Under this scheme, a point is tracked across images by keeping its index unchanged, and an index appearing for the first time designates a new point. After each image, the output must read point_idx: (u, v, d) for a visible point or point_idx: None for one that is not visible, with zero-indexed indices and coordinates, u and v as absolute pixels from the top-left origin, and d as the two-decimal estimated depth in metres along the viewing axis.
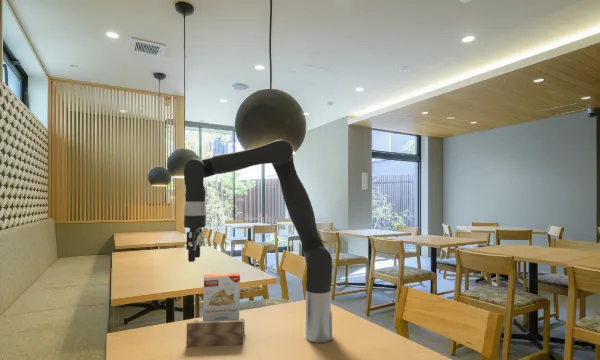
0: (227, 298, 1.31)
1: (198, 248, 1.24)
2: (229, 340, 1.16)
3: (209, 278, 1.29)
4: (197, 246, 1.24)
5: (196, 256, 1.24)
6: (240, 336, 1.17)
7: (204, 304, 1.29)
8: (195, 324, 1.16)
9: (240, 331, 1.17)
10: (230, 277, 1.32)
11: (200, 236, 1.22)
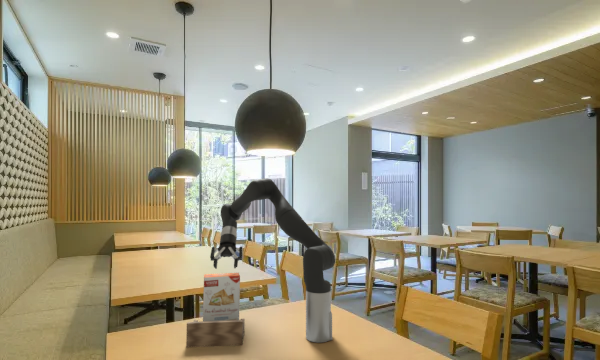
0: (227, 298, 1.31)
1: None
2: (229, 340, 1.16)
3: (209, 278, 1.29)
4: None
5: (234, 266, 1.47)
6: (240, 336, 1.17)
7: (204, 304, 1.29)
8: (195, 324, 1.16)
9: (240, 331, 1.17)
10: (230, 277, 1.32)
11: (229, 249, 1.52)
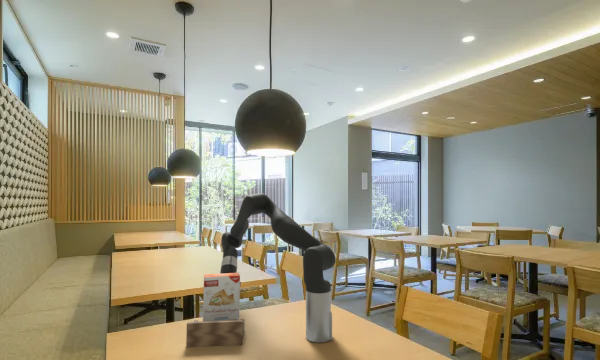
0: (227, 298, 1.31)
1: None
2: (229, 340, 1.16)
3: (209, 278, 1.29)
4: None
5: None
6: (240, 336, 1.17)
7: (204, 304, 1.29)
8: (195, 324, 1.16)
9: (240, 331, 1.17)
10: (230, 277, 1.32)
11: None
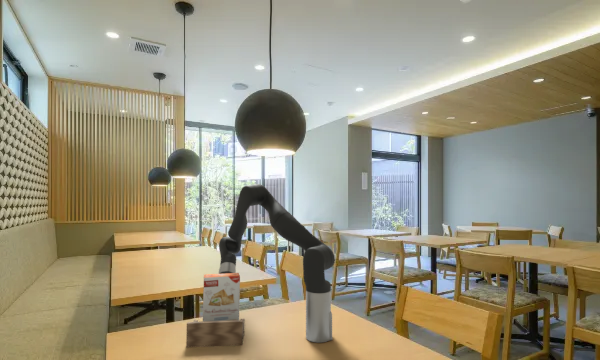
0: (227, 298, 1.30)
1: None
2: (229, 340, 1.16)
3: (209, 278, 1.29)
4: None
5: None
6: (240, 336, 1.17)
7: (204, 304, 1.28)
8: (195, 324, 1.16)
9: (240, 331, 1.17)
10: (230, 277, 1.31)
11: None
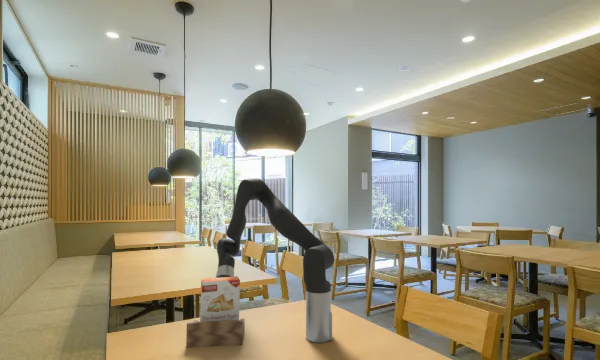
0: (227, 303, 1.24)
1: None
2: (229, 340, 1.16)
3: (207, 283, 1.22)
4: None
5: None
6: (240, 336, 1.17)
7: (202, 310, 1.21)
8: (195, 324, 1.16)
9: (240, 331, 1.17)
10: (229, 281, 1.25)
11: None
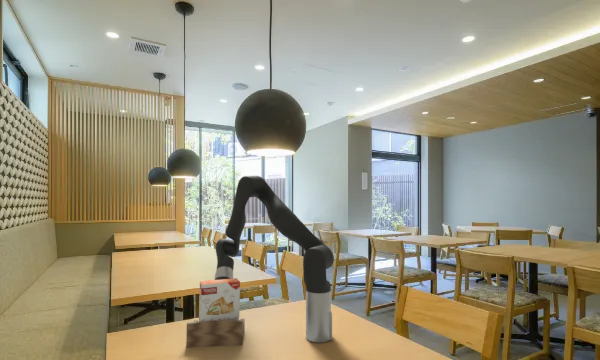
0: (227, 306, 1.21)
1: None
2: (229, 340, 1.16)
3: (207, 285, 1.19)
4: None
5: None
6: (240, 336, 1.17)
7: (201, 314, 1.18)
8: (195, 324, 1.16)
9: (240, 331, 1.17)
10: (229, 283, 1.22)
11: None
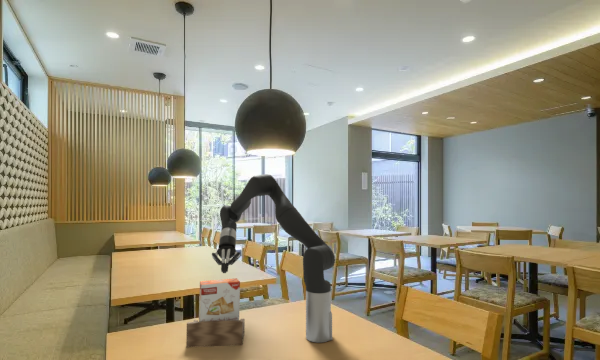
0: (227, 306, 1.21)
1: None
2: (229, 340, 1.16)
3: (207, 285, 1.19)
4: None
5: None
6: (240, 336, 1.17)
7: (201, 314, 1.18)
8: (195, 324, 1.16)
9: (240, 331, 1.17)
10: (229, 283, 1.22)
11: (227, 251, 1.48)
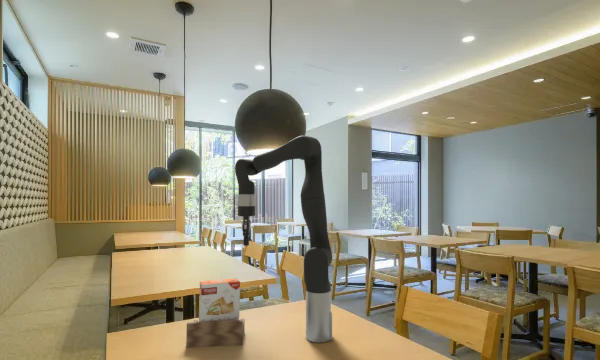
0: (227, 306, 1.21)
1: None
2: (229, 340, 1.16)
3: (207, 285, 1.19)
4: None
5: None
6: (240, 336, 1.17)
7: (201, 314, 1.18)
8: (195, 324, 1.16)
9: (240, 331, 1.17)
10: (229, 283, 1.22)
11: None
